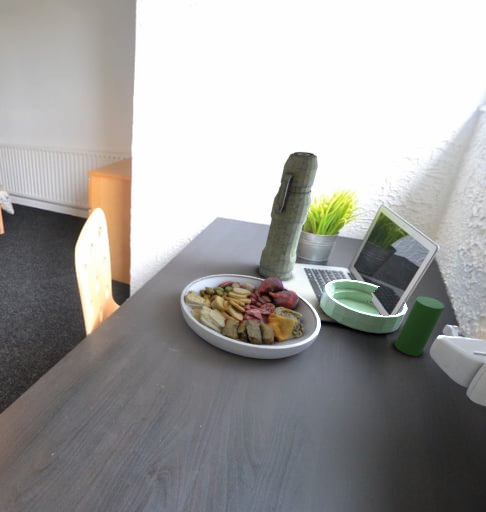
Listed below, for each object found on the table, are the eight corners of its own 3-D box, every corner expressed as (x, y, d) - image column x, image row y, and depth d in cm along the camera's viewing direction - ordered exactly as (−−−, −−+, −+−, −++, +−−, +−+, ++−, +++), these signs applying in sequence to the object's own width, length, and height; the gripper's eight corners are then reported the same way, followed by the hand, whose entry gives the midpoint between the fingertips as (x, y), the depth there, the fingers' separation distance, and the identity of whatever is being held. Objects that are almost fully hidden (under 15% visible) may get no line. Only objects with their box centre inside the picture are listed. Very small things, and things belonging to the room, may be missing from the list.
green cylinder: (413, 343, 81) (436, 297, 75) (425, 357, 77) (450, 309, 71) (390, 340, 81) (411, 295, 76) (401, 354, 78) (424, 307, 72)
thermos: (299, 272, 109) (332, 153, 93) (279, 285, 103) (311, 159, 87) (270, 262, 116) (297, 148, 100) (249, 273, 109) (275, 154, 93)
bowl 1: (275, 390, 69) (285, 358, 66) (153, 319, 90) (156, 291, 87) (336, 326, 86) (346, 298, 83) (221, 278, 107) (225, 254, 104)
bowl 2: (378, 299, 96) (385, 282, 94) (414, 339, 82) (422, 320, 80) (310, 293, 99) (315, 277, 97) (333, 330, 85) (339, 312, 83)
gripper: (673, 390, 46) (569, 324, 58) (479, 367, 50) (419, 309, 62) (639, 425, 49) (547, 355, 61) (458, 400, 53) (405, 339, 65)
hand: (481, 332), depth 61 cm, fingers open, 8 cm apart
